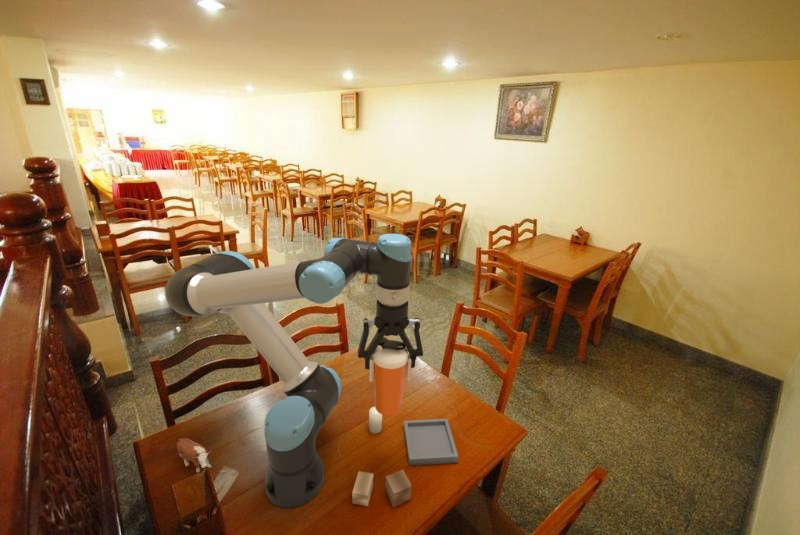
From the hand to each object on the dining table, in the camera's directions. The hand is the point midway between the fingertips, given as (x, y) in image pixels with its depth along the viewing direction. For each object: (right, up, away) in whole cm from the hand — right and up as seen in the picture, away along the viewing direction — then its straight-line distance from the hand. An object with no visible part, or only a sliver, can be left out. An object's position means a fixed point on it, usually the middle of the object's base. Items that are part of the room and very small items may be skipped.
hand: (389, 377), depth 91 cm
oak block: (-7, -30, +1) cm, 31 cm away
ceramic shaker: (-5, -22, +20) cm, 31 cm away
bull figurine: (-53, -26, +6) cm, 59 cm away
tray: (+12, -25, +16) cm, 32 cm away
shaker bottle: (0, -9, +4) cm, 10 cm away
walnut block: (+2, -31, +1) cm, 31 cm away
